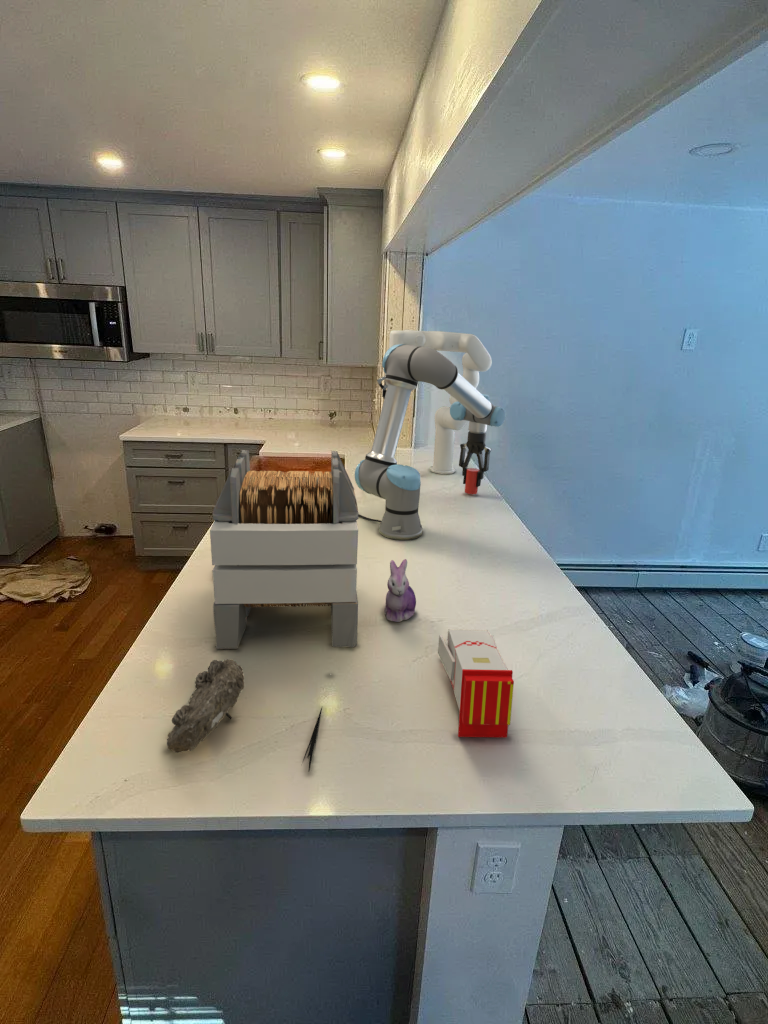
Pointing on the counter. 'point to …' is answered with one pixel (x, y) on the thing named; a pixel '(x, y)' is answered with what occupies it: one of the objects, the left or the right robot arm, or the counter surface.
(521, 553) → the counter surface
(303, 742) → the counter surface
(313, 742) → the feather
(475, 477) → the can
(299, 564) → the grey record storage rack
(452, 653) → the toy
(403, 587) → the figurine
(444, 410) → the right robot arm
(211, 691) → the fossil
